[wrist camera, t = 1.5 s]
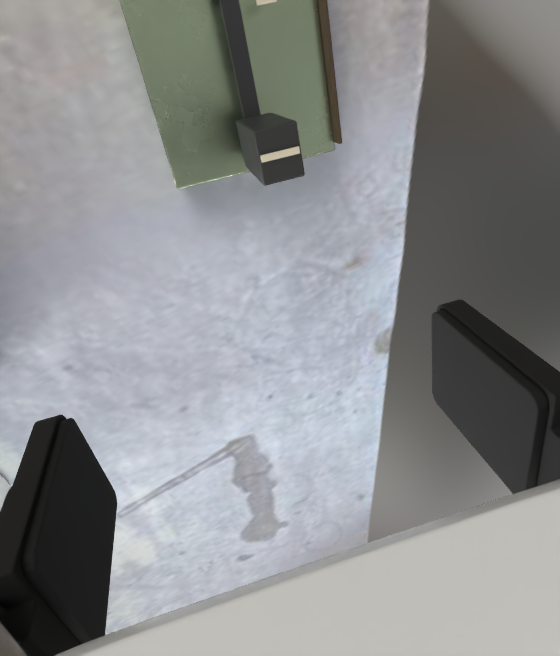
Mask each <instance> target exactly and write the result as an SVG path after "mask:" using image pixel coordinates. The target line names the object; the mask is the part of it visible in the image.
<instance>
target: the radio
mask: <svg viewBox="0 0 560 656" xmlns="http://www.w3.org/2000/svg"><path fill="white" fill-rule="evenodd" d="M120 3H121V6H122V10H123V13H124V16H125V19H126V23H127V26H128V29H129V33H130V36H131V39H132V43H133V46H134V49H135V52H136V56H137V59H138V62H139V66H140V69H141V72H142V75H143V79H144V82H145V85H146V89H147V92H148V95H149V99H150V102H151V105H152V108H153V112H154V115H155V118H156V122H157V125H158V128H159V131H160V135H161V138H162V141H163V145H164V148H165V151H166V155H167V158H168V161H169V164H170V168H171V171H172V174H173V178H174V181H175V184H176V187H177V189H181V188H185V187H189V186H193V185H197V184H201V183H205V182H209V181H213V180H217V179H221V178H225V177H229V176H233V175H237V174H241V173H245V172H249V171H250V170H249V169H248V168H247V167H246V166H245V162H244V157H243V153H242V148H241V143H240V139H239V134H238V130H237V125H236V121H237V120H240V119H244V116H243V111H242V106H241V101H240V97H239V92H238V87H237V82H236V78H235V73H234V68H233V63H232V58H231V54H230V49H229V44H228V39H227V34H226V30H225V25H224V20H223V15H222V10H221V6H220V1H219V0H120ZM239 4H240V9H241V14H242V19H243V25H244V30H245V35H246V40H247V46H248V51H249V56H250V61H251V67H252V72H253V77H254V82H255V88H256V93H257V98H258V103H259V109H260V114H266V113H270V112H271V113H274V114H277V115H280V116H283V117H286V118H289V119H291V120H294V121H296V122H297V128H298V134H299V141H300V147H301V154H302V158H305V157H309V156H313V155H317V154H321V153H325V152H329V151H333V150H335V148H334V140H333V131H332V122H331V114H330V105H329V96H328V88H327V79H326V70H325V62H324V53H323V44H322V36H321V27H320V18H319V10H318V1H317V0H277V2H272V3H268V4H263V5H258V6H257V4H256V0H239Z"/></svg>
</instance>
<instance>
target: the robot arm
mask: <svg viewBox="0 0 560 656" xmlns="http://www.w3.org/2000/svg"><path fill="white" fill-rule="evenodd" d="M432 393H433V396H434V399H435V401H436V403H437V404H438V406H439V407H440V408H441V409H442V410H443V411H444V412H445V414H446V415H447V416H448V417H449V418H450V419H451V421H452V422H453V423H454V425H455V426H456V427H457V428H458V429H459V430H460V432H461V433H462V434H463V435H464V436H465V437H466V439H467V440H468V441H469V442H470V443H471V445H472V446H473V447H474V448H475V449H476V450H477V452H478V453H479V454H480V455H481V456H482V457H483V459H484V460H485V461H486V462H487V463H488V465H489V466H490V467H491V468H492V469H493V471H494V472H495V473H496V474H497V475H498V476H499V478H500V479H501V480H502V481H503V482H504V484H505V485H506V486H507V487H508V488H509V489H510V491H511V492H512V493H513V494H512V495H509V496H506V497H503V498H499V499H497V500H493V501H490V502H487V503H484V504H481V505H479V506H476V507H473V508H470V509H467V510H464V511H461V512H458V513H455V514H452V515H449V516H446V517H443V518H440V519H437V520H434V521H431V522H428V523H425V524H422V525H419V526H416V527H413V528H411V529H407V530H404V531H401V532H399V533H396V534H393V535H390V536H387V537H384V538H381V539H378V540H375V541H373V542H369V543H366V544H363V545H361V546H358V547H355V548H352V549H349V550H346V551H343V552H340V553H337V554H334V555H331V556H328V557H326V558H323V559H320V560H317V561H314V562H311V563H308V564H305V565H302V566H299V567H297V568H294V569H291V570H288V571H285V572H282V573H279V574H276V575H273V576H270V577H268V578H265V579H262V580H259V581H256V582H253V583H250V584H248V585H245V586H242V587H239V588H236V589H233V590H230V591H228V592H225V593H222V594H219V595H216V596H213V597H210V598H208V599H205V600H202V601H199V602H196V603H193V604H190V605H188V606H185V607H182V608H179V609H176V610H173V611H170V612H168V613H165V614H162V615H159V616H156V617H154V618H151V619H148V620H145V621H143V622H140V623H137V624H135V625H132V626H129V627H126V628H124V629H121V630H118V631H116V632H113V633H110V634H107V635H105V628H106V617H107V607H108V596H109V585H110V574H111V564H112V553H113V542H114V532H115V521H116V510H117V498H116V494H115V491H114V489H113V487H112V485H111V484H110V482H109V480H108V478H107V477H106V475H105V473H104V471H103V470H102V468H101V466H100V464H99V462H98V461H97V459H96V457H95V455H94V454H93V452H92V450H91V448H90V447H89V445H88V443H87V441H86V439H85V438H84V436H83V434H82V432H81V431H80V429H79V427H78V425H77V424H76V422H75V420H74V419H72V418H69V419H66V418H65V417H64V416H63V415H58V416H54V417H51V418H47V419H44V420H41V421H37V422H36V423H35V424H34V426H33V429H32V432H31V435H30V438H29V441H28V443H27V446H26V449H25V452H24V455H23V458H22V460H21V463H20V466H19V469H18V472H17V475H16V478H15V480H14V483H13V486H12V487H11V488H10V489H9V491H8V493H7V495H6V497H5V500H4V502H3V505H2V508H1V511H0V656H560V372H559V371H558V370H556V369H555V368H554V367H552V366H551V365H550V364H548V363H547V362H546V361H544V360H543V359H541V358H540V357H539V356H537V355H536V354H535V353H533V352H532V351H531V350H529V349H528V348H527V347H525V346H524V345H523V344H521V343H520V342H519V341H517V340H516V339H515V338H513V337H512V336H510V335H509V334H508V333H506V332H505V331H504V330H502V329H501V328H500V327H498V326H497V325H496V324H494V323H493V322H491V321H490V320H489V319H488V318H486V317H485V316H483V315H482V314H481V313H479V312H478V311H477V310H475V309H474V308H473V307H471V306H470V305H469V304H467V303H466V302H465V301H463V300H456V301H452V302H449V303H445V304H442V305H439V306H438V308H437V312H434V313H433V314H432Z"/></svg>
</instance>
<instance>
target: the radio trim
mask: <svg viewBox="0 0 560 656" xmlns="http://www.w3.org/2000/svg"><path fill="white" fill-rule="evenodd" d="M219 1H220V6H221V10H222V15H223V20H224V25H225V30H226V34H227V39H228V44H229V49H230V54H231V58H232V63H233V68H234V73H235V78H236V82H237V87H238V92H239V97H240V101H241V106H242V111H243V116H244V119H245V118H249V117H253V116H257V115H261V114H260V109H259V103H258V98H257V93H256V88H255V82H254V77H253V72H252V67H251V61H250V56H249V51H248V46H247V40H246V35H245V30H244V25H243V19H242V14H241V9H240V4H239V0H219ZM317 1H318V10H319V18H320V27H321V36H322V44H323V53H324V62H325V70H326V79H327V88H328V96H329V105H330V114H331V122H332V131H333V140H334V142H336V143H339V144H340V143H342V137H341V128H340V118H339V109H338V99H337V90H336V81H335V71H334V62H333V53H332V43H331V34H330V24H329V15H328V6H327V0H317ZM272 2H277V0H256V4H257V6H258V5H263V4H268V3H272Z"/></svg>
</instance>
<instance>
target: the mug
mask: <svg viewBox="0 0 560 656" xmlns="http://www.w3.org/2000/svg"><path fill="white" fill-rule="evenodd" d="M10 488H11V487H10V485H9V484H8V482H7V481H6V480H5V479H4V478H3V477H2V476H1V475H0V511H1V508H2V505H3V502H4V500H5V497H6V495H7V493H8V491H9V489H10Z"/></svg>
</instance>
